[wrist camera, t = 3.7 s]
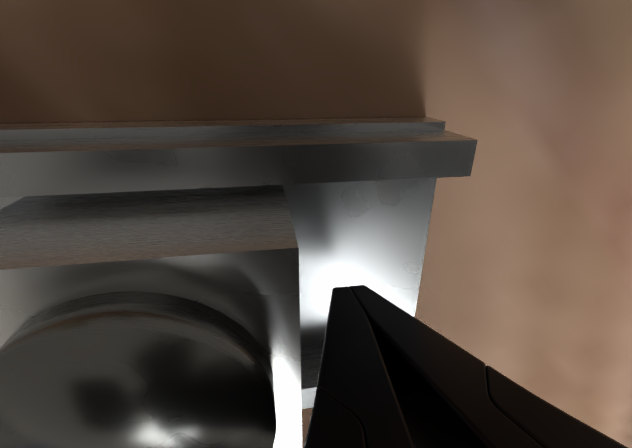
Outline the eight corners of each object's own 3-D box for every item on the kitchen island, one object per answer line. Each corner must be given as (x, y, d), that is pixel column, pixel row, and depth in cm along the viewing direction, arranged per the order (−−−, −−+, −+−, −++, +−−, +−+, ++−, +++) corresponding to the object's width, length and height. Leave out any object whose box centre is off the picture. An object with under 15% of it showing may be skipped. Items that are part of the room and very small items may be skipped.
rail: (426, 117, 9) (497, 135, 7) (396, 339, 13) (436, 412, 10) (-190, 126, 7) (-462, 159, 4) (-32, 392, 10) (-131, 504, 8)
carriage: (281, 180, 8) (306, 275, 4) (287, 348, 10) (308, 510, 7) (34, 191, 7) (-208, 321, 3) (98, 371, 10) (-7, 573, 6)
